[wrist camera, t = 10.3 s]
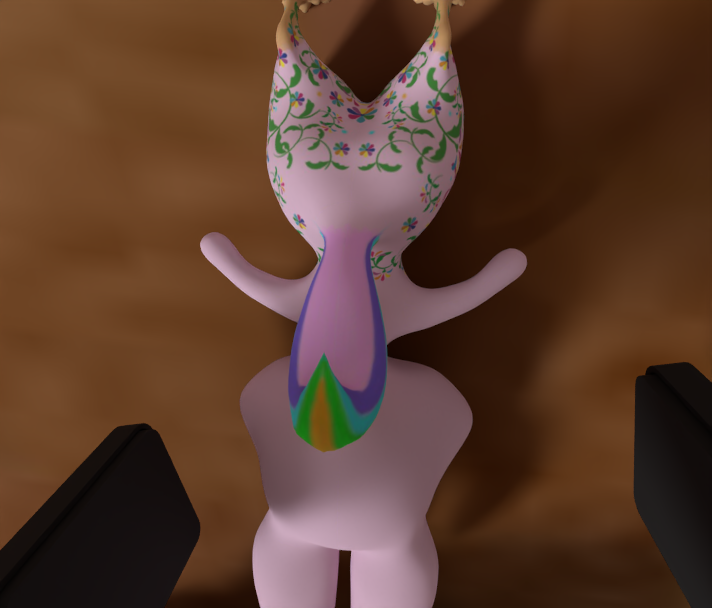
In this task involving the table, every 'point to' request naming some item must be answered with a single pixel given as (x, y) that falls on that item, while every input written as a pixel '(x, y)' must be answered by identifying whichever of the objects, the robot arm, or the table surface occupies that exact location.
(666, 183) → the table surface
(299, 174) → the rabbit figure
